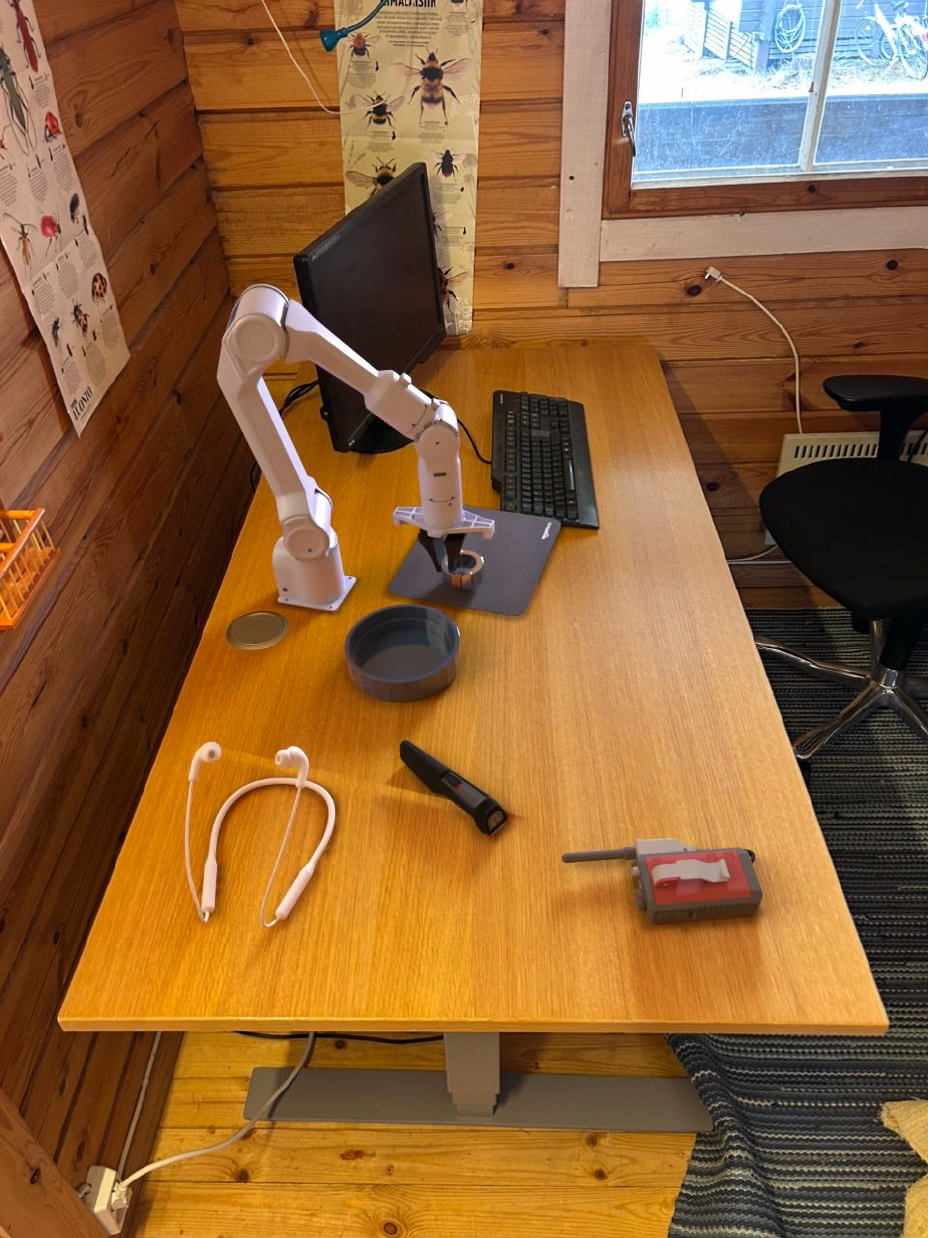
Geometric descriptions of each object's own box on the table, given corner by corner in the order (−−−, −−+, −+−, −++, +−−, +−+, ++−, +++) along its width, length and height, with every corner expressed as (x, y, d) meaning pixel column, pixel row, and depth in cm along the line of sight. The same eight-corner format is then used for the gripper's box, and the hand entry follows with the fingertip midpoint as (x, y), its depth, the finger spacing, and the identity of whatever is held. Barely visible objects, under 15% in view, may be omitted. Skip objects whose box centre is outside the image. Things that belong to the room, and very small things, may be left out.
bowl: (330, 692, 112) (325, 670, 110) (374, 617, 123) (370, 596, 121) (440, 714, 109) (438, 692, 106) (475, 635, 119) (474, 614, 117)
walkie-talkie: (745, 842, 92) (559, 857, 92) (752, 817, 90) (560, 832, 89) (771, 917, 86) (572, 933, 86) (780, 893, 83) (573, 909, 83)
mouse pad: (522, 619, 121) (522, 617, 121) (384, 594, 127) (384, 593, 127) (563, 520, 139) (563, 519, 139) (440, 503, 144) (440, 501, 144)
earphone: (158, 926, 84) (176, 740, 87) (223, 897, 100) (237, 741, 103) (293, 937, 82) (308, 747, 85) (336, 906, 99) (348, 748, 101)
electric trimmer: (417, 747, 105) (414, 730, 103) (510, 819, 96) (509, 801, 94) (393, 765, 103) (390, 748, 101) (486, 840, 94) (485, 823, 92)
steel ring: (436, 586, 126) (434, 572, 124) (449, 561, 130) (448, 547, 128) (476, 592, 124) (475, 578, 122) (488, 567, 128) (488, 553, 127)
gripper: (381, 499, 117) (391, 577, 126) (483, 513, 113) (486, 593, 122) (399, 472, 122) (408, 549, 131) (497, 485, 118) (499, 563, 127)
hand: (446, 568), depth 127 cm, fingers closed on steel ring
